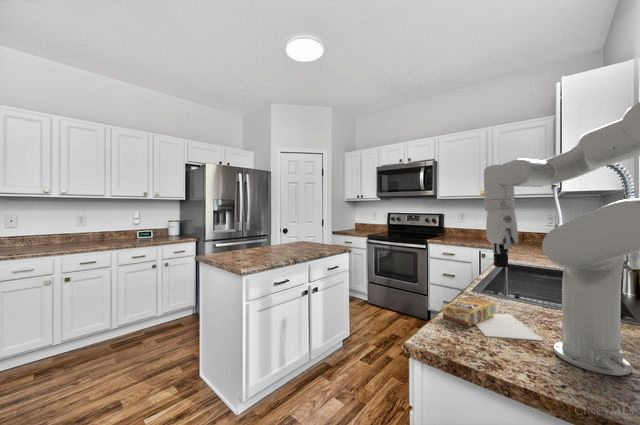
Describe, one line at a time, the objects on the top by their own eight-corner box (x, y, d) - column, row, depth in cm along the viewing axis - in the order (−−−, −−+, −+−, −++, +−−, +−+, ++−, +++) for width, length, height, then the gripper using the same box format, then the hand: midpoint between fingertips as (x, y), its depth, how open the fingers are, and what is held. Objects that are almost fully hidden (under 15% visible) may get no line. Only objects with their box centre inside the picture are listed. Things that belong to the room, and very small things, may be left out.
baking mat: (543, 341, 71) (543, 340, 71) (485, 336, 74) (485, 335, 74) (510, 315, 88) (510, 314, 88) (464, 312, 91) (464, 311, 91)
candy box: (495, 301, 87) (468, 313, 79) (496, 314, 87) (469, 327, 79) (468, 295, 95) (441, 305, 87) (469, 307, 95) (442, 318, 87)
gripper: (527, 204, 73) (529, 272, 72) (501, 206, 87) (503, 262, 87) (496, 205, 74) (498, 271, 74) (476, 207, 89) (477, 262, 88)
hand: (501, 266), depth 80 cm, fingers closed
